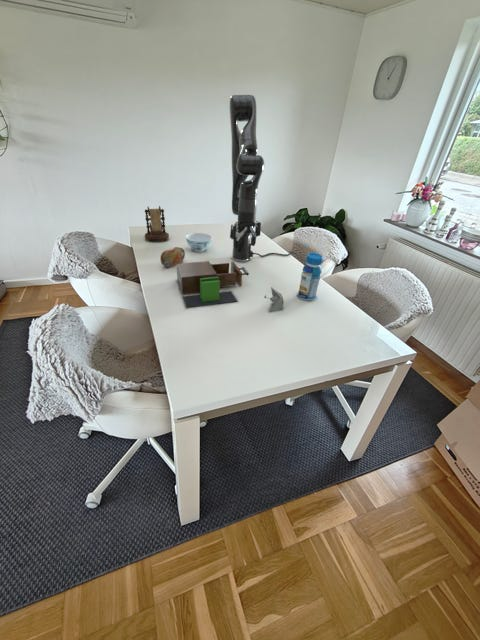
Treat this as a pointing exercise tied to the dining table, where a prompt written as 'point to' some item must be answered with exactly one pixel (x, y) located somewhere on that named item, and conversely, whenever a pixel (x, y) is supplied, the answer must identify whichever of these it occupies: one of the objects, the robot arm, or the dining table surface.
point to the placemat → (196, 301)
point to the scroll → (155, 225)
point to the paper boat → (276, 300)
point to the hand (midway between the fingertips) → (244, 246)
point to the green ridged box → (209, 289)
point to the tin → (172, 256)
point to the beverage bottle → (310, 277)
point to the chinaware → (198, 241)
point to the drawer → (229, 274)
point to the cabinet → (193, 275)
